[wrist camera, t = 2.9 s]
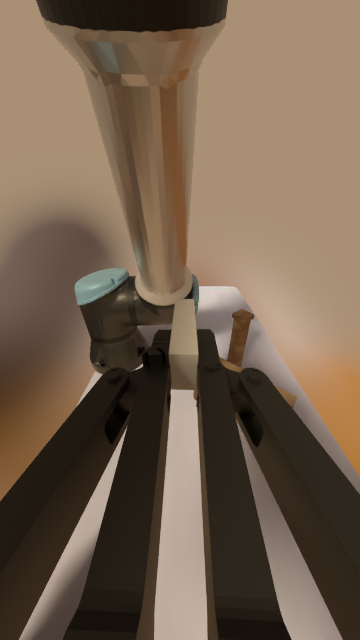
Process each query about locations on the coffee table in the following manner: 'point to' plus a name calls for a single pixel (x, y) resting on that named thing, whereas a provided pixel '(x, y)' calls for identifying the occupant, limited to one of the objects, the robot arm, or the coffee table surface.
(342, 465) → the coffee table surface
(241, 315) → the latch post
